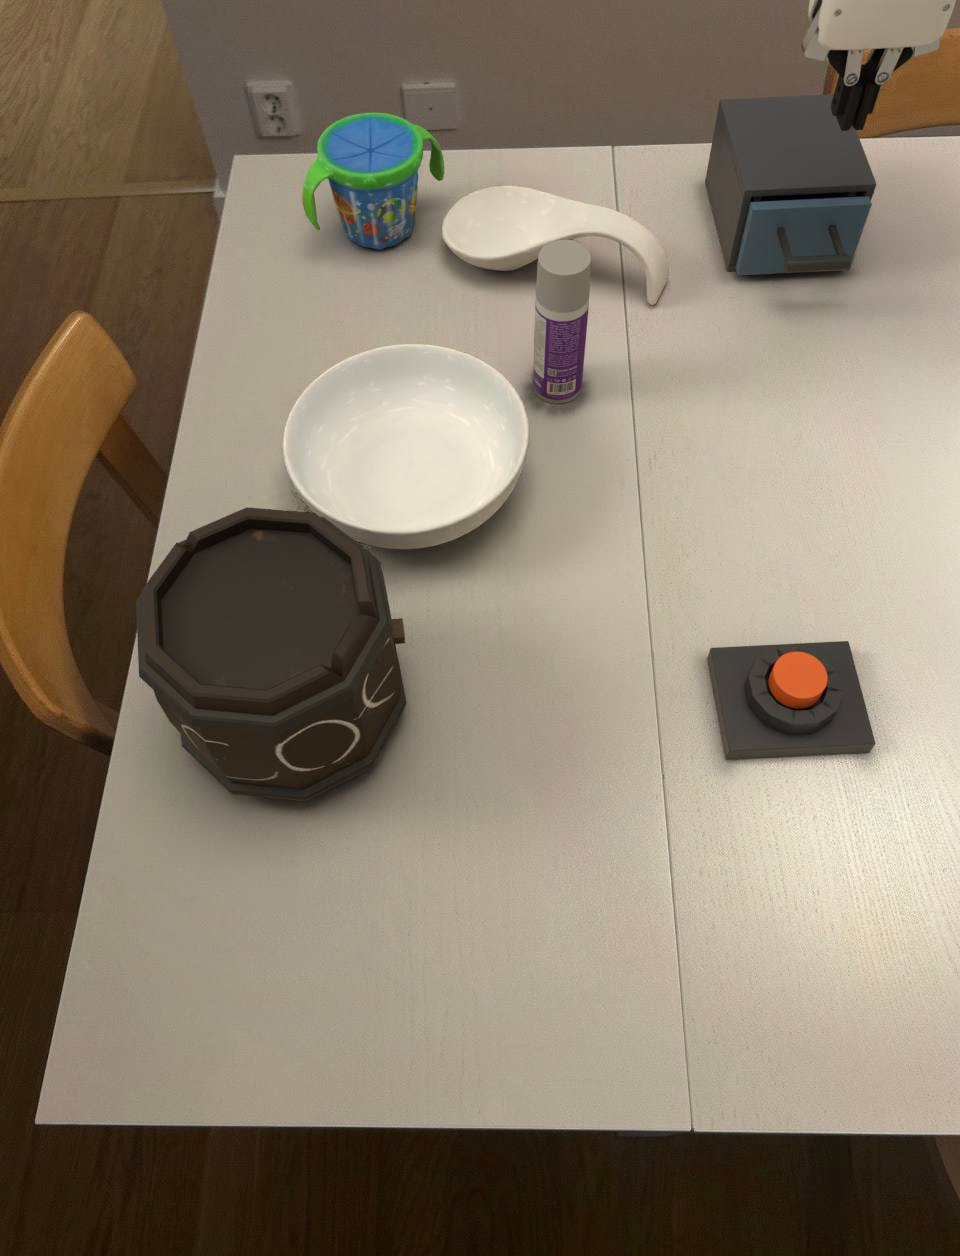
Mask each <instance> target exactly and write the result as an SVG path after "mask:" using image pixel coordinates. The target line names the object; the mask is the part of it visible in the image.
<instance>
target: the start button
mask: <svg viewBox="0 0 960 1256" xmlns="http://www.w3.org/2000/svg"><path fill="white" fill-rule="evenodd" d="M827 681H828V676H827V672H826V669H825V667H824V666H823V664H822V663H821V662H820V661H819V660H818V659H817V658H815V657H814V656H812V655H810V654H807V653H804V652H790V653H786V654H784V655H782V656H781V657H780V658H779V659H778V660H777V661H776V663H775V665H774V667H773V669H772V671H771V674H770V676H769V688H770V691H771V693H772V695H773V696H774V697H775V699H776V700H777V701H779V702H780V703H781V704H783V705H785V706H787V707H790V708H795V709H803V708H807V707H810V706H812V705H814V704H815V703H816V702H817V701H818V700H819V698H820V697H821V695H822V693H823V691H824V689H825V687H826V685H827Z"/></svg>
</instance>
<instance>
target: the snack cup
mask: <svg viewBox="0 0 960 1256" xmlns="http://www.w3.org/2000/svg"><path fill="white" fill-rule="evenodd" d="M428 140H429V142H430V144H431V148H430V158H429V166H428V167H429V172H430V174H431V175H432V177H433V178H434V179H435V180H436V181H438V182H442V181H443V180H444V177H445V172H446V171H445V161H444V155H443V151H442V148H441V146H440V144H439V142H438V140H437V139H436V138H435V137H434V136H433V134H431V133H430V132H429V131H428V130H427V129H425V128H424V127H422V126H420V125H418V124H414V123H411V122H410V121H409V120H407V119H405V118H403V117H400V116H398V115H395V114H391V113H386V112H362V113H357V114H351V115H347V116H345V117H343V118H340V119H338V120H336V121H335V122H333V123H331V124H330V125H329V126H328V127H327V128H325V130H324V131H323V132H322V133H321V135H320V136H319V138H318V140H317V146H316V149H317V151H316V152H317V157H316V159H314V161H313V163H312V164H311V165H310V167H309V168H308V171H307V173H306V175H305V178H304V181H303V186H302V201H301V202H302V207H303V210H304V214H305V216H306V217H307V219H308V220H309V222H310V223H311V225H312V226H313V228H315V230H317V231H320V230H321V226H320V224H319V222H318V214H317V207H316V198H315V197H316V196H315V192H316V190H317V189H318V187H319V186H320V185H321V183H322V182H324V181H325V180H327V181H328V184H329V187H330V191H331V194H332V198H333V201H334V204H335V207H336V209H337V212H338V215H339V220H340V222H341V225H342V228H343V231H344V233H345V235H346V238H347V240H349V241H350V242H354V243H355V244H357V245H359V246H361V247H365V248H368V249H375V250H379V251H381V250H384V249H385V248H389V247H393V246H396V245H398V244H400V243H401V242H402V241H403V240H405V239H407V238H409V237H411V235H412V231H413V228H414V225H415V221H416V212H417V211H416V210H417V201H418V200H417V199H418V190H419V189H418V188H419V185H418V183H419V169H420V167H421V164H422V162H423V159H424V142H426V141H428Z"/></svg>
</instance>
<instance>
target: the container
mask: <svg viewBox="0 0 960 1256" xmlns="http://www.w3.org/2000/svg"><path fill="white" fill-rule="evenodd" d="M591 270H592V254H591V251H590V250H589V248H588V247H586V246H585V245H584V244H582V243H581V242H578V241H576V240H557V241H553V242H550V243H548V244H546V245H545V246H544V247H543V248H542V249H541V250H540V252H539V255H538V259H537V270H536V285H535V298H534V299H535V300H534V327H533V328H534V331H533V332H534V333H533V336H534V337H533V361H532V362H533V364H532V365H533V366H532V389H533V392H534V394H535V395H536V396H537V397H538V398H539V399H540V400H542V401H544V402H546V403H550V404H556V405H557V404H558V405H559V404H566V403H568V402H571V401H574V400H575V399H576V398H577V397H578V396H579V395H580V393H581V391H582V386H583V376H584V367H585V366H584V364H585V355H586V354H585V353H586V341H587V332H588V331H587V330H588V319H589V310H590V309H589V308H590V291H591V290H590V289H591V272H592V271H591Z"/></svg>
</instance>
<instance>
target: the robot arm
mask: <svg viewBox="0 0 960 1256" xmlns="http://www.w3.org/2000/svg"><path fill="white" fill-rule="evenodd" d="M956 1H957V0H809V3H808V8H807V16H808V20H809V21H811V23H810V25H809V28H808V29H807V32H806V34H805V36H804V38H803V40H802V42H801V49H802V52H803V55H804V57H805V58H807V59H809V60H810V59H811V60H814V61H818V62H826V63H829V64H830V65H831V67H832V68H833V69H834V71H835V72H836V73H837V74H838V78H837V81H836V84H835V87H834V91H833V94H834V95H833V99H832V103H831V111H832V114H833V116H836V118H837V121H838V123H839V126H840V129H841V131H848V130H849V129H851V127H852V126H853V128H854V129H855V130H856V131H863V130H864V128H865V125H866V122H867V118H868V115H872V114H873V112H874V110H875V106H876V103H877V100H878V96H879V93H880V90H881V87H882V85H885V84H887V83H888V82H889V81H890V79H891V77H892V74H893V73H894V72H895V71H897V70H898V69H899V68H900V67H902V66H903V65H904V64H905V63H907V62H908V61H909V60H910V59H912V58H918V57H921V56H924V55H928V54H933V53H935V52H937V50H939V48H940V46H941V39H942V38H941V37H942V36H943V35H944V33H945V31H946V29H947V27H948V25H949V22H950V20H951V16H952V14H953V12H954V8H955V5H956ZM864 50H870V52H869V54H868V57H867V60H866V62H865V63H863V57H864Z"/></svg>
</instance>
